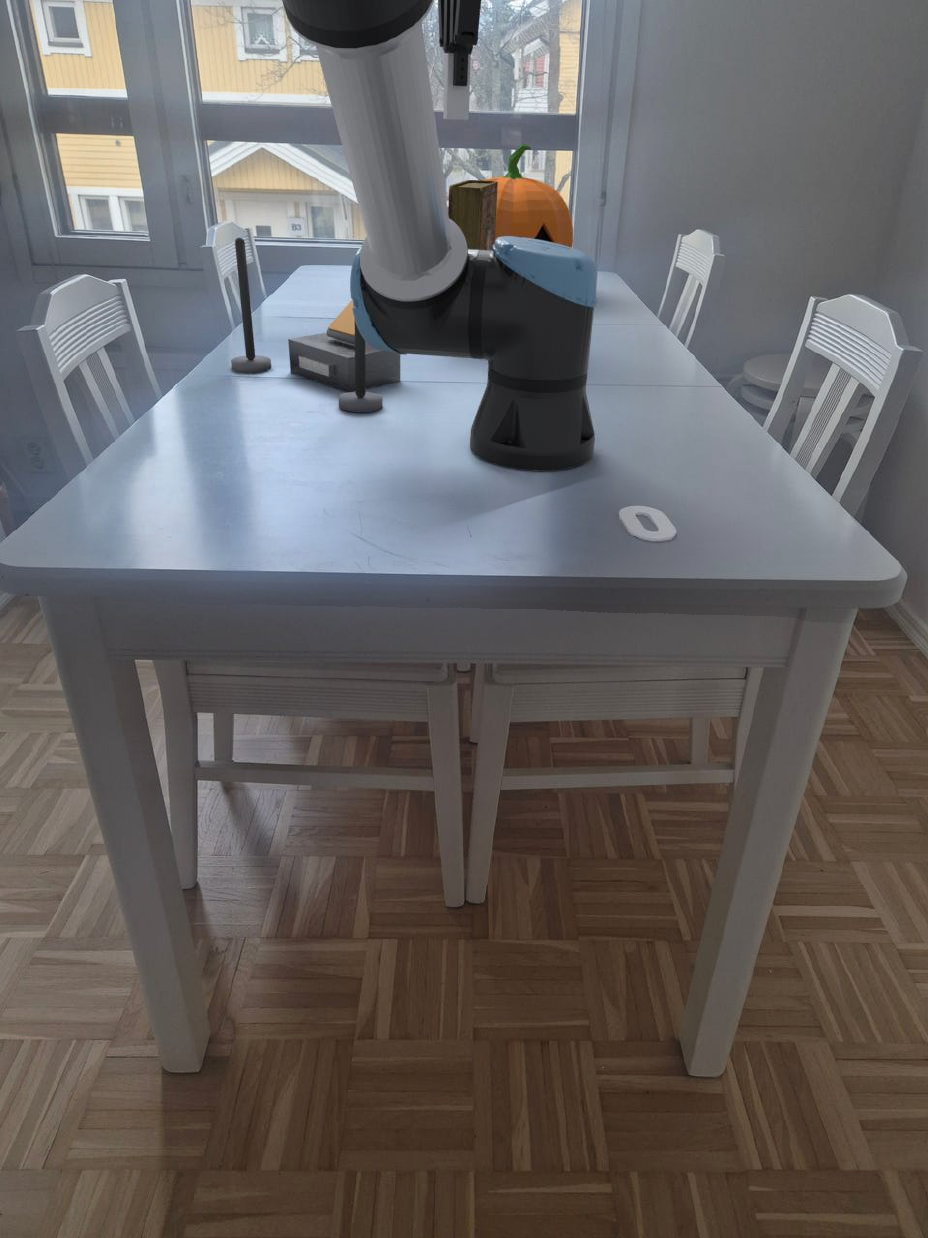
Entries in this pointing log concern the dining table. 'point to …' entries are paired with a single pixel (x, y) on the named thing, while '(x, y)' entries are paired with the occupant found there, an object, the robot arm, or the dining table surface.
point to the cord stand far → (247, 320)
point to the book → (474, 211)
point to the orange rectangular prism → (343, 326)
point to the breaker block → (340, 362)
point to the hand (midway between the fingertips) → (456, 118)
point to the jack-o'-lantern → (530, 207)
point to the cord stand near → (360, 384)
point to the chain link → (656, 516)
